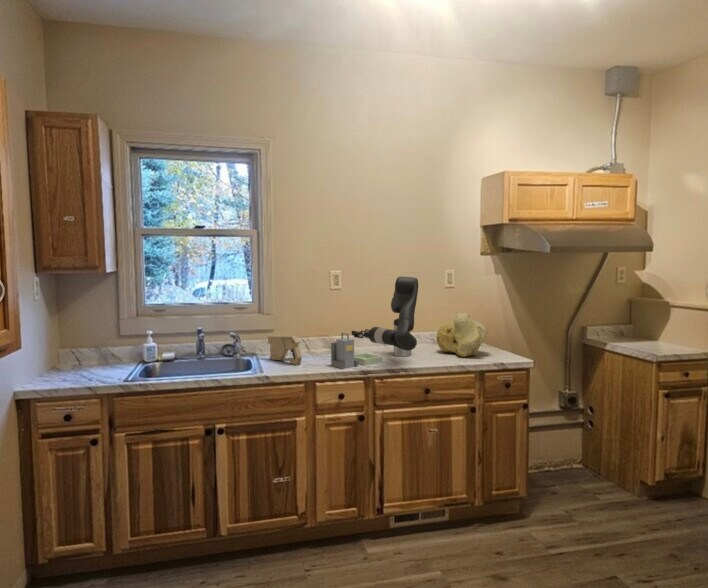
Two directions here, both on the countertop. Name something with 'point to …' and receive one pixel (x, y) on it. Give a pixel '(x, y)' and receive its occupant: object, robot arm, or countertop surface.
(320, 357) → the countertop surface
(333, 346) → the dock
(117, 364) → the countertop surface
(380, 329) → the robot arm
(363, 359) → the tray
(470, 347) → the sculpture
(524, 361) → the countertop surface
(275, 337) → the tan cutout panel
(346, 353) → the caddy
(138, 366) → the countertop surface
